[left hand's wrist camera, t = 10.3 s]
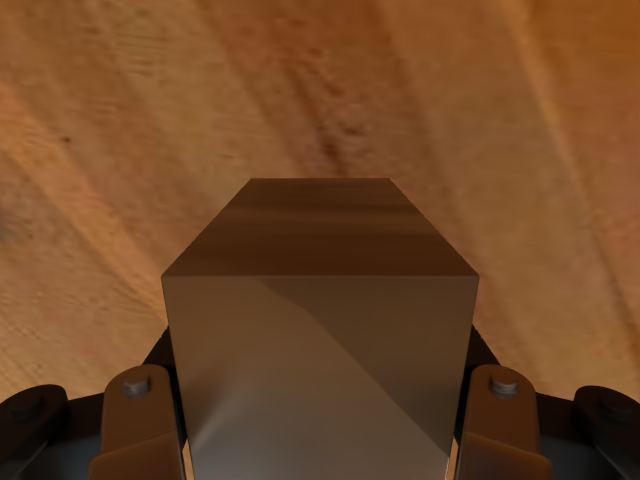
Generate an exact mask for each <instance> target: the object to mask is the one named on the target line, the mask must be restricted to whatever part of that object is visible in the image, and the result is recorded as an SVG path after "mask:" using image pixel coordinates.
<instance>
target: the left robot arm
mask: <svg viewBox="0 0 640 480" xmlns="http://www.w3.org/2000/svg"><path fill="white" fill-rule="evenodd" d="M453 439H456V442H457V444H458V452H457V458H456V464H455V471H454V478H453V480H640V404H639V403H638V402H636V401H635V400H633V399H632V398H630V397H628V396H626V395H624V394H622V393H620V392H618V391H615V390H612V389H609V388H605V387H601V386H583V387H581V388H579V389H578V390H577V391H576V393H575V397H574V400H573V401H571V400H567V399H562V398H558V397H553V396H549V395H544V394H541V393H538V392H535V389H534V387H533V385H532V384H531V382H530V381H529V380H528V379H527V378H525V377H524V376H523V375H521V374H520V373H518V372H516V371H514V370H512V369H510V368H507V367H504V366H501V365H500V363H499V362H498V360H497V359H496V357H495V356H494V355H493V353H492V352H491V350H490V349H489V347H488V346H487V344H486V343H485V342H484V340H483V339H482V338H481V336H480V334H479V333H478V331H477V330H475V327H474V326H473V324H472V326H471V332H470V338H469V344H468V350H467V356H466V362H465V368H464V374H463V380H462V386H461V393H460V399H459V405H458V411H457V417H456V423H455V429H454V435H453ZM186 440H187V432H186V426H185V420H184V414H183V408H182V402H181V396H180V390H179V384H178V378H177V372H176V366H175V360H174V354H173V348H172V342H171V336H170V330H169V325H168V327H167V329H166V330H165V331H164V333H163V334H162V337H161V338H160V339H159V340H158V342H157V343H156V344H155V346H154V347H153V349H152V350H151V352H150V353H149V355H148V356H147V358H146V359H145V361H144V362H143V364H142V365H140V366H136V367H133V368H130V369H128V370H126V371H124V372H122V373H120V374H119V375H117V376H116V377H115V378H113V379H112V380H111V381H110V382H109V384H108V385H107V387H106V389H105V392H103V393H99V394H95V395H91V396H86V397H82V398H77V399H73V400H68V398H67V394H66V391H65V389H64V388H62V387H61V386H59V385H52V384H47V385H40V386H35V387H32V388H29V389H26V390H23V391H21V392H19V393H17V394H15V395H13V396H11V397H9V398H8V399H6V400H5V401H3V402H2V403H1V404H0V480H187V478H186V472H185V465H184V458H183V452H182V450H183V448H184V445H185V443H186Z"/></svg>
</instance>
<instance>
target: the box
mask: <svg viewBox="0 0 640 480" xmlns="http://www.w3.org/2000/svg"><path fill="white" fill-rule="evenodd" d="M161 282H162V288H163V294H164V300H165V306H166V312H167V318H168V324H169V330H170V336H171V342H172V348H173V354H174V360H175V366H176V372H177V378H178V384H179V390H180V396H181V402H182V408H183V414H184V420H185V426H186V432H187V438H188V444H189V450H190V456H191V462H192V468H193V474H194V480H446V478H447V472H448V466H449V459H450V453H451V447H452V441H453V435H454V429H455V423H456V417H457V411H458V405H459V399H460V393H461V386H462V380H463V374H464V368H465V362H466V356H467V350H468V344H469V338H470V332H471V326H472V320H473V314H474V307H475V301H476V295H477V289H478V283H479V275H478V274H477V272H476V271H475V270H474V269H473V268H472V267H471V266H470V265H469V264H468V263H467V262H466V261H465V260H464V259H463V257H462V256H461V255H460V254H459V253H458V252H457V251H456V250H455V249H454V248H453V247H452V246H451V245H450V244H449V242H448V241H447V240H446V239H445V238H444V237H443V236H442V235H441V234H440V233H439V232H438V231H437V230H436V228H435V227H434V226H433V225H432V224H431V223H430V222H429V221H428V220H427V219H426V218H425V217H424V216H423V215H422V213H421V212H420V211H419V210H418V209H417V208H416V207H415V206H414V205H413V204H412V203H411V202H410V201H409V199H408V198H407V197H406V196H405V195H404V194H403V193H402V192H401V191H400V190H399V189H398V188H397V187H396V186H395V184H394V183H393V182H392V181H391V180H390V179H389V178H264V179H250V180H249V181H248V182H247V184H246V185H245V186H244V187H243V188H242V189H241V190H240V191H239V192H238V193H237V194H236V195H235V196H234V198H233V199H232V200H231V201H230V202H229V203H228V204H227V205H226V206H225V207H224V208H223V209H222V211H221V212H220V213H219V214H218V215H217V216H216V217H215V218H214V219H213V220H212V221H211V222H210V223H209V225H208V226H207V227H206V228H205V229H204V230H203V231H202V232H201V233H200V234H199V235H198V236H197V238H196V239H195V240H194V241H193V242H192V243H191V244H190V245H189V246H188V247H187V248H186V249H185V251H184V252H183V253H182V254H181V255H180V256H179V257H178V258H177V259H176V260H175V261H174V262H173V263H172V265H171V266H170V267H169V268H168V269H167V270H166V271H165V272H164V273H163V274H162V275H161Z"/></svg>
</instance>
